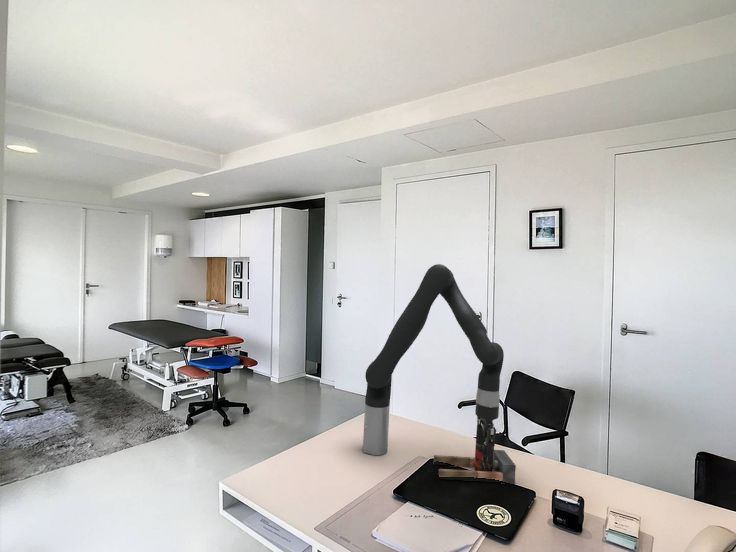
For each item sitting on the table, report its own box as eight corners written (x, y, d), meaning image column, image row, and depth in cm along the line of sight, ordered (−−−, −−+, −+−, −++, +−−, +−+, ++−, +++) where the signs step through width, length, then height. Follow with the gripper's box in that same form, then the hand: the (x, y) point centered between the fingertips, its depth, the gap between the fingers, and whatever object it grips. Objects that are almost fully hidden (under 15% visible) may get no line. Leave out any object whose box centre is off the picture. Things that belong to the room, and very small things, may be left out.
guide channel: (438, 479, 128) (439, 461, 128) (433, 463, 139) (434, 446, 139) (514, 484, 128) (515, 465, 128) (503, 467, 139) (504, 450, 139)
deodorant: (494, 476, 130) (497, 430, 130) (476, 474, 131) (479, 429, 131) (489, 467, 136) (492, 424, 136) (472, 466, 136) (475, 423, 136)
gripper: (471, 395, 141) (468, 442, 141) (482, 408, 126) (479, 461, 126) (492, 396, 141) (489, 443, 141) (505, 410, 126) (502, 462, 126)
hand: (484, 451), depth 133 cm, fingers closed on deodorant, 6 cm apart
